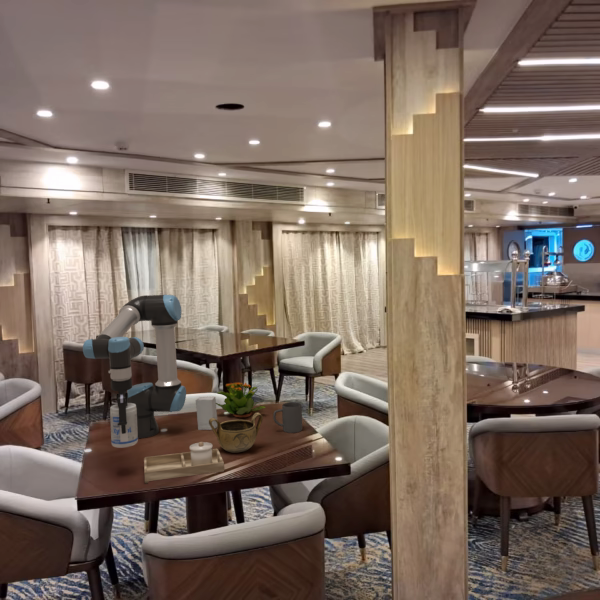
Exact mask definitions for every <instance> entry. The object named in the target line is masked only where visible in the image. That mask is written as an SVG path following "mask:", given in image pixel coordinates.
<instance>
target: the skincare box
mask: <svg viewBox="0 0 600 600" xmlns="http://www.w3.org/2000/svg"><path fill="white" fill-rule="evenodd" d="M216 403H217V401H216V396H199V397H198V398H196V399H195V406H196V407H195V408H196V419H197V429H198V431H203V430H204V431H206V430H207V431H209V430H210V431H213V430H212V428H211V426H210V425H209V419H210V418H215V419H216V420H218V413H217V411H218V410H217V404H216ZM212 425H213V427H214V428H215V429H217V422H216V421H215V420H214V421H212Z"/></svg>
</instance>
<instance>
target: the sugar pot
mask: <svg viewBox="0 0 600 600" xmlns="http://www.w3.org/2000/svg"><path fill="white" fill-rule="evenodd" d="M212 449H213V443H211V442H207V441H199V442H196V443H192V444H190V445H189V450H190V452H191V466H196V465H204V464H211V463H212Z"/></svg>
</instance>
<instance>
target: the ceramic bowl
mask: <svg viewBox="0 0 600 600" xmlns="http://www.w3.org/2000/svg"><path fill="white" fill-rule="evenodd" d="M257 417H258V418H257ZM256 419H258V420H257V423H256ZM263 419H264V416H263V415H262V414H261V413H260V412H259V411H258V412H257V411H256V412H255V413H254V414H253V415H252V416H251V420H247V419H230V420H226V421H222V422H221V423H220V421H219V420H218V419H217V420H216V419H215V418H210V419H209V425H210V426H211V428H212V430H211V431H213V433H214V435H215V436H216V439H217V442H218V444H219V446H220V447H221V448H222V449H223V450H225V451H226V452H228V453H233V454H235V453H237V454H239V453H242V452H247V451H248V450H249V449H251V448H252V447H253V445H254V444H255V443H256V439H257V436H258V433H259V431H260V428H261V426H262V422H263ZM214 420H215V421H216V422H217V428H214V427H213V425H212V421H214Z"/></svg>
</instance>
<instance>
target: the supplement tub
mask: <svg viewBox="0 0 600 600" xmlns="http://www.w3.org/2000/svg"><path fill="white" fill-rule="evenodd" d="M109 409H110V410H109V417H110V419H109V420H110V437H111V438H110V441H111V446H112V447H114V448H120V449H121V448H130V447H132V446H135V445H136V444H138V442H139V438H138V431H137V410H136V404H134V403H127V406H126V418H127V428H128V441H127V442H120V425H118V424H117V423H119V407H118V404H112V405H111V406H110V408H109Z"/></svg>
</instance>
